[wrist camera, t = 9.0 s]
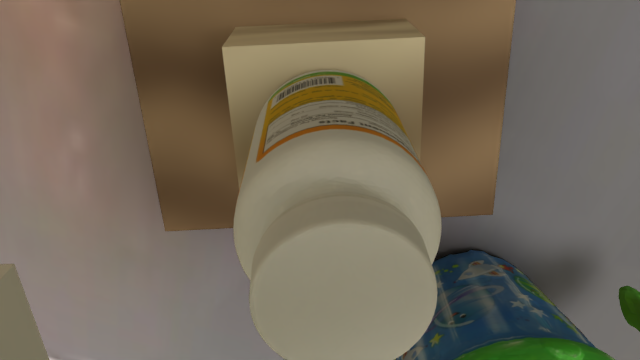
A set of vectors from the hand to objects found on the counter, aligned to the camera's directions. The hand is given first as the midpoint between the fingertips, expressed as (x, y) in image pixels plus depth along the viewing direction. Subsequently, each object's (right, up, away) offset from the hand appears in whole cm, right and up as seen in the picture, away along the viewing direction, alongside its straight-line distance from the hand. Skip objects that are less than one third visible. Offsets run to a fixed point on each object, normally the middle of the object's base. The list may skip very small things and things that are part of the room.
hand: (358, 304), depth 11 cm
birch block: (-1, +6, +13) cm, 14 cm away
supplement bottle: (0, +4, +10) cm, 10 cm away
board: (-1, +7, +14) cm, 15 cm away
